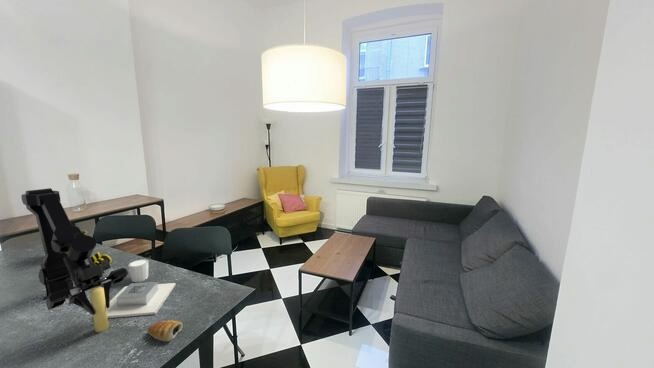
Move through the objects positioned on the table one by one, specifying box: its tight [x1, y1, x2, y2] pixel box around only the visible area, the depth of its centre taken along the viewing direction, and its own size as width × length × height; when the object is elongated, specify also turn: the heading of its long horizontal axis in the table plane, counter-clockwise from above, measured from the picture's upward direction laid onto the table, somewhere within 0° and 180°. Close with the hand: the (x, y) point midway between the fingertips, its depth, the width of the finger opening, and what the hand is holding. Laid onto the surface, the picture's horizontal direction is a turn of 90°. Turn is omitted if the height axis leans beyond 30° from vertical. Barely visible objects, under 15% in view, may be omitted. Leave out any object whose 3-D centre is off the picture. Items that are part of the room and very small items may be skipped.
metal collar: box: [117, 281, 159, 307], centre depth 96 cm, size 9×9×4 cm
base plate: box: [106, 282, 176, 319], centre depth 96 cm, size 18×18×1 cm
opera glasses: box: [90, 251, 112, 265], centre depth 121 cm, size 10×5×5 cm, turn 65°
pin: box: [89, 286, 110, 333], centre depth 81 cm, size 3×3×13 cm
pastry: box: [147, 319, 184, 343], centre depth 81 cm, size 9×7×4 cm
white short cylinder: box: [127, 258, 150, 283], centre depth 110 cm, size 7×7×7 cm
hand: (101, 310), depth 80 cm, fingers closed on pin, 3 cm apart
